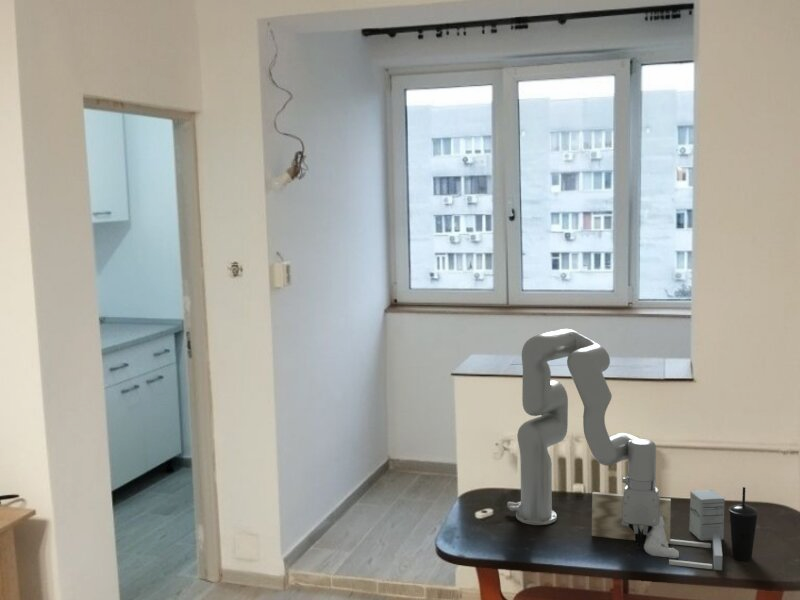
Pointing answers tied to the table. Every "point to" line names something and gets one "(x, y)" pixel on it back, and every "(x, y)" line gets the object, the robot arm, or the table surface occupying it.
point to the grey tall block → (706, 514)
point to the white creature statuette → (659, 542)
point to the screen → (620, 517)
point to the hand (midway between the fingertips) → (640, 545)
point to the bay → (716, 547)
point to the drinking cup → (742, 529)
